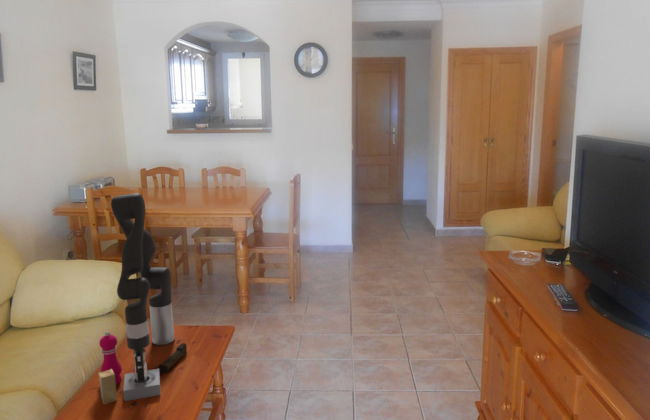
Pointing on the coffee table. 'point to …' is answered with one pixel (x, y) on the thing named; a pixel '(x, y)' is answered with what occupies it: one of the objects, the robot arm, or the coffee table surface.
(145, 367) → the round bit
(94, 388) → the coffee table surface
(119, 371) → the pepper mill
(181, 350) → the hand tool
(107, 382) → the pale wooden block
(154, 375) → the bore block
